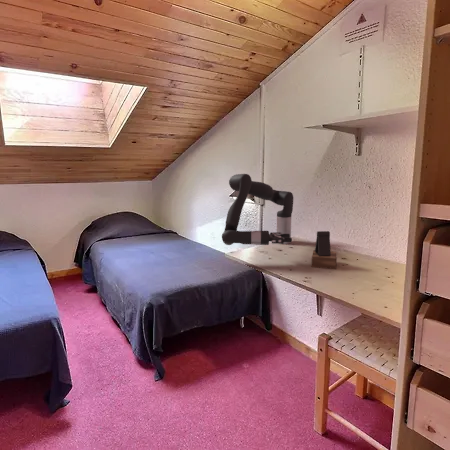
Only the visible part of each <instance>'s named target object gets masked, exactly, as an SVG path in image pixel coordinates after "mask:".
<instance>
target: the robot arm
mask: <svg viewBox="0 0 450 450" xmlns="http://www.w3.org/2000/svg"><path fill="white" fill-rule="evenodd" d="M228 185H229V187H230V189H231V190H233V191H234V192H238V194H237V196H236V198H235V200H234V202H232V204H231V205H230V207H229V209H228V211H227V216H226V218H225V219H226V220H225V227H224V231H223V232H222V235H221V240H222V242H223V244H225V245H226V246H231V245H234V244H240V245H241V244H242V245H253V246H254V245H255V246H268V245H269V244H270V242H271V244H278V245H279V244H280V245H288V244H291V243H292V242H293V239H292V214H293V209H294V193H292V192H291V191H286V190H276V189H273V187H272V185H269V184H267V183H264V182H260V181H253V180H252V177H251V176H250V174H248V173H238V174H237V173H236V174H233V175H232V176H230V178H229V180H228ZM249 195H250V196H253V197H256V198H258V199H261V200H264V201H270V202H272V203H274V204H275V205H277V206H283V207H282V210H278V211H276V231H275V232H270V231H269V230H238V226H239V224H240V220H241V214H242V211H243V208H244V205H245V203H246V200H247V198H248V196H249Z"/></svg>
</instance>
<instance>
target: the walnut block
mask: <svg viewBox="0 0 450 450" xmlns="http://www.w3.org/2000/svg"><path fill="white" fill-rule="evenodd" d="M311 268H315V269H316V268H318V269H328V270H329V269H331V270H337V251H331V256H318V254H317V253H316V252H315V249H314V250H312V255H311Z"/></svg>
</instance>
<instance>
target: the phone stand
mask: <svg viewBox="0 0 450 450" xmlns="http://www.w3.org/2000/svg"><path fill="white" fill-rule="evenodd" d="M330 236H331V232H330V231H328V230H327V231H326V230H320V231H316V239H315V246H314V250H315V252H316V253H317V254H318V256H331V252H332V251H331V240H330V239H331V238H330Z"/></svg>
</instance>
